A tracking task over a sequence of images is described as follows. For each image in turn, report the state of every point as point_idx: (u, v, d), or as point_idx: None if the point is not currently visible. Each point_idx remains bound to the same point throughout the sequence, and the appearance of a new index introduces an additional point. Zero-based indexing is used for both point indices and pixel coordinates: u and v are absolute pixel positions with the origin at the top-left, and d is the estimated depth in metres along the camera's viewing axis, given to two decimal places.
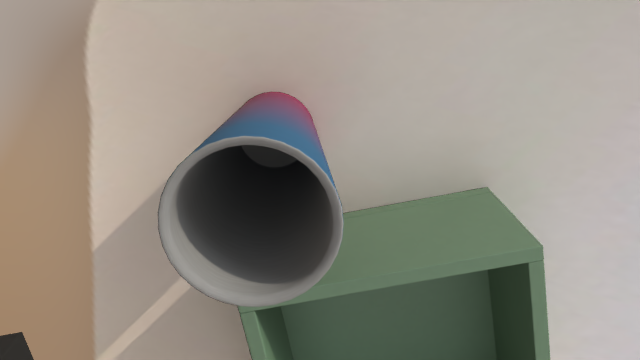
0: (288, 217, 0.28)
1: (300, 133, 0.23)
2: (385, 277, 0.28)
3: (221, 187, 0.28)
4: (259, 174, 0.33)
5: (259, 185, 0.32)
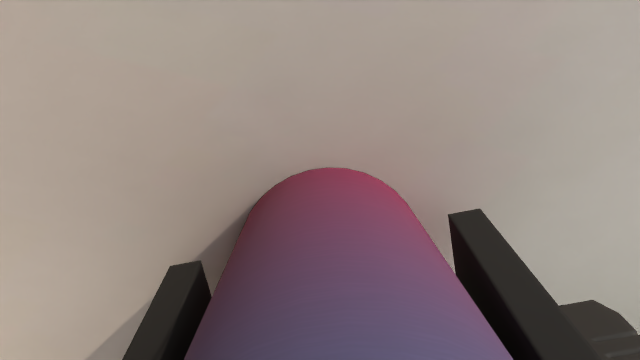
0: None
1: None
2: None
3: None
4: None
5: None
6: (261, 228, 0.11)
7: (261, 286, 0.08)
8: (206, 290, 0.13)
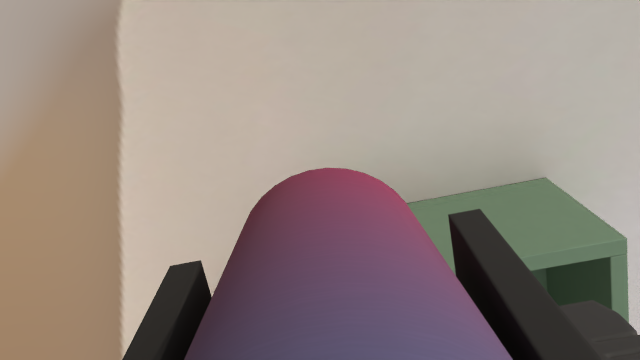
0: None
1: None
2: None
3: None
4: None
5: None
6: (261, 228, 0.11)
7: (261, 286, 0.08)
8: (206, 290, 0.13)
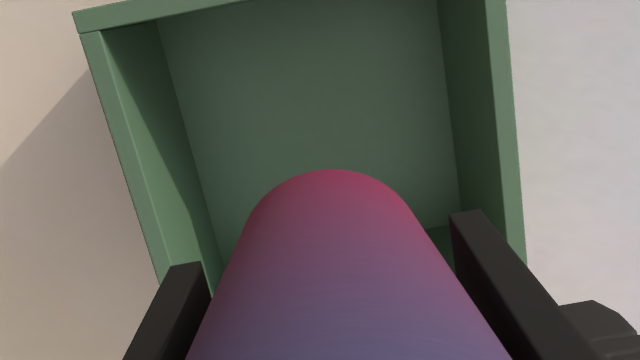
0: None
1: None
2: None
3: None
4: None
5: None
6: (261, 230, 0.11)
7: (261, 288, 0.08)
8: (206, 290, 0.13)
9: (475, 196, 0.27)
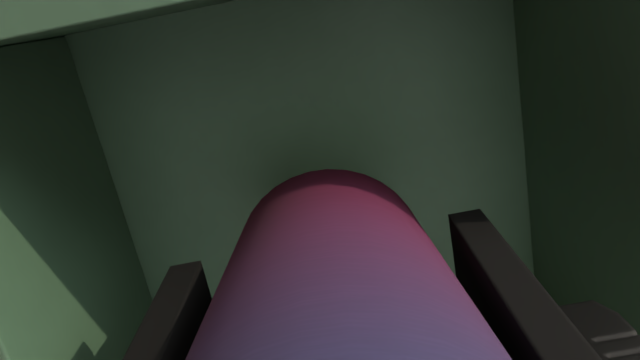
0: None
1: None
2: None
3: None
4: None
5: None
6: (261, 230, 0.11)
7: (261, 288, 0.08)
8: (205, 290, 0.13)
9: None
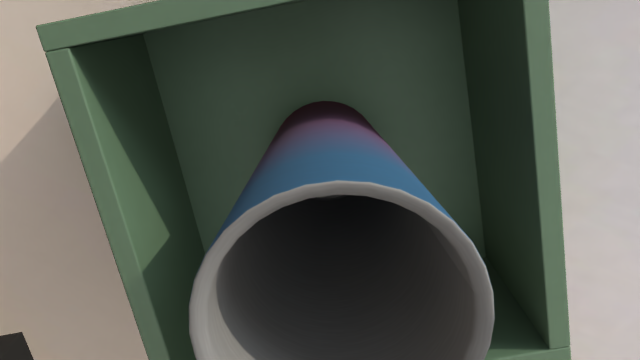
0: (362, 278, 0.20)
1: (403, 167, 0.15)
2: None
3: (266, 235, 0.20)
4: (308, 209, 0.25)
5: (311, 226, 0.24)
6: (289, 121, 0.23)
7: (293, 129, 0.20)
8: None
9: (503, 232, 0.24)
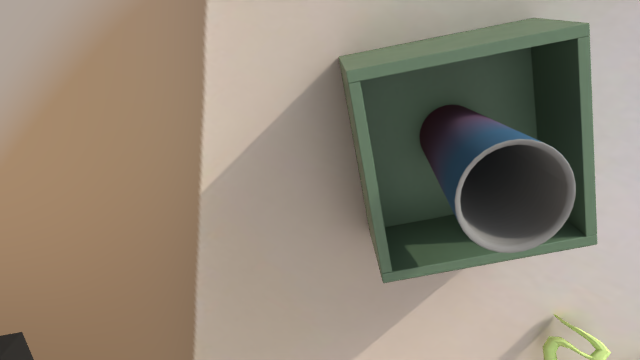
0: (492, 196, 0.38)
1: None
2: (464, 50, 0.35)
3: None
4: None
5: None
6: (441, 116, 0.41)
7: (456, 120, 0.38)
8: None
9: None
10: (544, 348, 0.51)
